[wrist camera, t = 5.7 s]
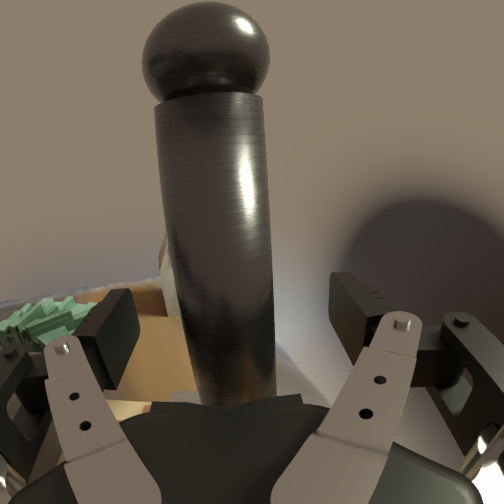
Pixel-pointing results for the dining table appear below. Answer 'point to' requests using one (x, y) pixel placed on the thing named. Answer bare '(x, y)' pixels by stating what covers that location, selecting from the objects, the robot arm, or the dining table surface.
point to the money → (43, 323)
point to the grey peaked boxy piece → (168, 279)
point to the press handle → (216, 195)
